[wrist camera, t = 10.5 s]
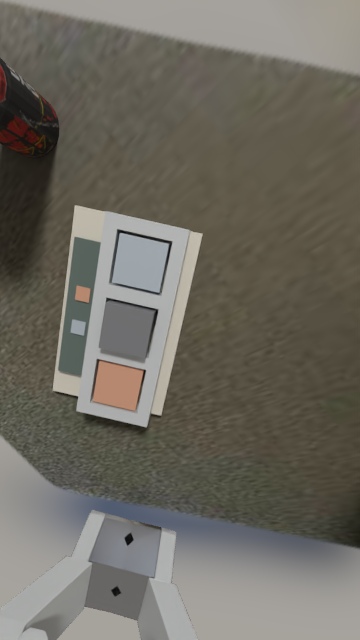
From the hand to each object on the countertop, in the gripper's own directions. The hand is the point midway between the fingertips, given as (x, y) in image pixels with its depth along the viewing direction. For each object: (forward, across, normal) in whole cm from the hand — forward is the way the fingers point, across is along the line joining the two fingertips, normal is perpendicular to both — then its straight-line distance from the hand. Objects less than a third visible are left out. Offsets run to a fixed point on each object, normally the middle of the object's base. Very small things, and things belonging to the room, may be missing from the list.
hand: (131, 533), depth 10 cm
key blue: (+25, +6, -7) cm, 26 cm away
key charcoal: (+24, +6, 0) cm, 24 cm away
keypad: (+26, +7, 0) cm, 27 cm away
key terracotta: (+25, +6, +7) cm, 26 cm away
